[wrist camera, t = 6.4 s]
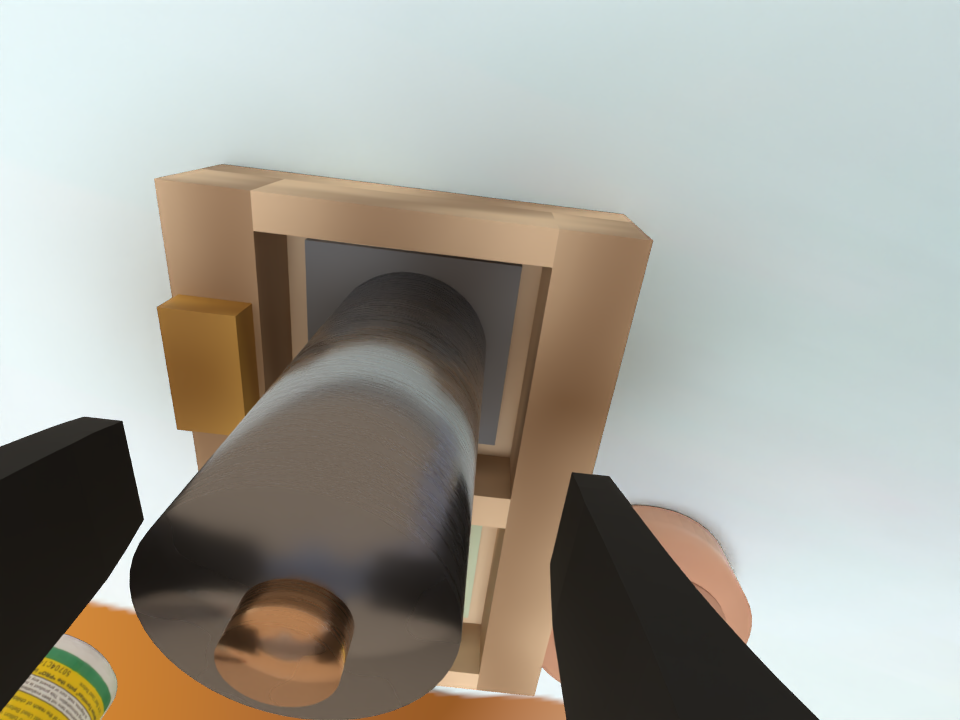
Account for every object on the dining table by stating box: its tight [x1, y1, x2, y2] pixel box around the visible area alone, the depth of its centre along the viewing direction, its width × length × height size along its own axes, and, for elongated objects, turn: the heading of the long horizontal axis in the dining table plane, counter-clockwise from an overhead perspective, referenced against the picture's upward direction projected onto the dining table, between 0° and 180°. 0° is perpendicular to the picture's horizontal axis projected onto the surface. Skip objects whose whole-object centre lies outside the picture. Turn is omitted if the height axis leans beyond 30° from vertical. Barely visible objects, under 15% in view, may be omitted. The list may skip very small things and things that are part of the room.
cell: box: [130, 272, 486, 720], centre depth 10 cm, size 4×4×9 cm
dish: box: [542, 505, 752, 682], centre depth 18 cm, size 7×7×2 cm
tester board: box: [154, 164, 653, 696], centre depth 15 cm, size 10×15×4 cm, turn 174°
